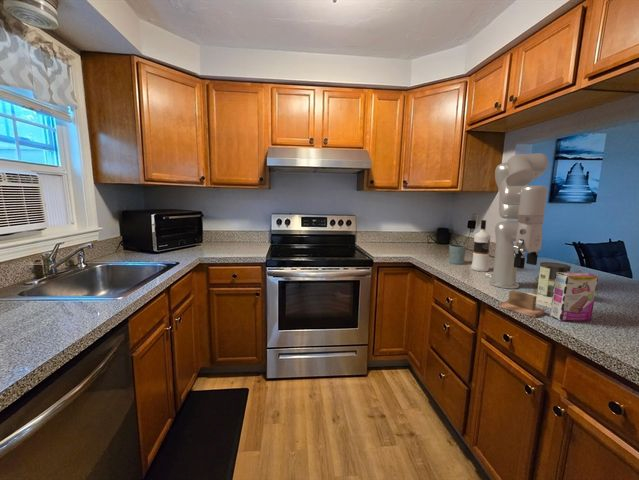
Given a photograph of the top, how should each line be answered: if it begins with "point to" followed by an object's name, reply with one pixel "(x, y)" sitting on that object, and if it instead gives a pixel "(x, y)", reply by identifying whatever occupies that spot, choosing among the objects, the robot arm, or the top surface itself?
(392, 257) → the top surface
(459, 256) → the light blue cup
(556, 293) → the candy bar box
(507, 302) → the plate with tan block
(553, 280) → the coffee can
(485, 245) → the vodka
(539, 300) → the block
